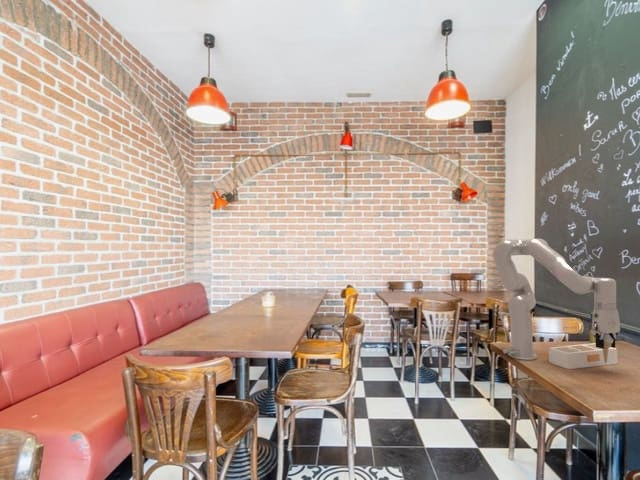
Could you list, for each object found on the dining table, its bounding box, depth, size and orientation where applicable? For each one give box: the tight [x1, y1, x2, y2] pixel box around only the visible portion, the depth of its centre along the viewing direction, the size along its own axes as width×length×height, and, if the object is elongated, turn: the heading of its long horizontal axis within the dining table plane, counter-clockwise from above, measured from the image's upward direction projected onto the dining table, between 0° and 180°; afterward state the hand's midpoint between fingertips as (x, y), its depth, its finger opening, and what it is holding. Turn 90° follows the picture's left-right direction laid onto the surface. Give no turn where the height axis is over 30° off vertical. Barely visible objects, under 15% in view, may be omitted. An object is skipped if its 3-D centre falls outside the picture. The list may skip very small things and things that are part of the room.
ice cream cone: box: [603, 333, 613, 363], centre depth 151 cm, size 6×6×15 cm
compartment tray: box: [548, 343, 619, 370], centre depth 163 cm, size 28×11×7 cm, turn 101°
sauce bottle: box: [588, 312, 600, 344], centre depth 180 cm, size 7×6×20 cm
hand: (605, 347), depth 151 cm, fingers closed on ice cream cone, 5 cm apart
